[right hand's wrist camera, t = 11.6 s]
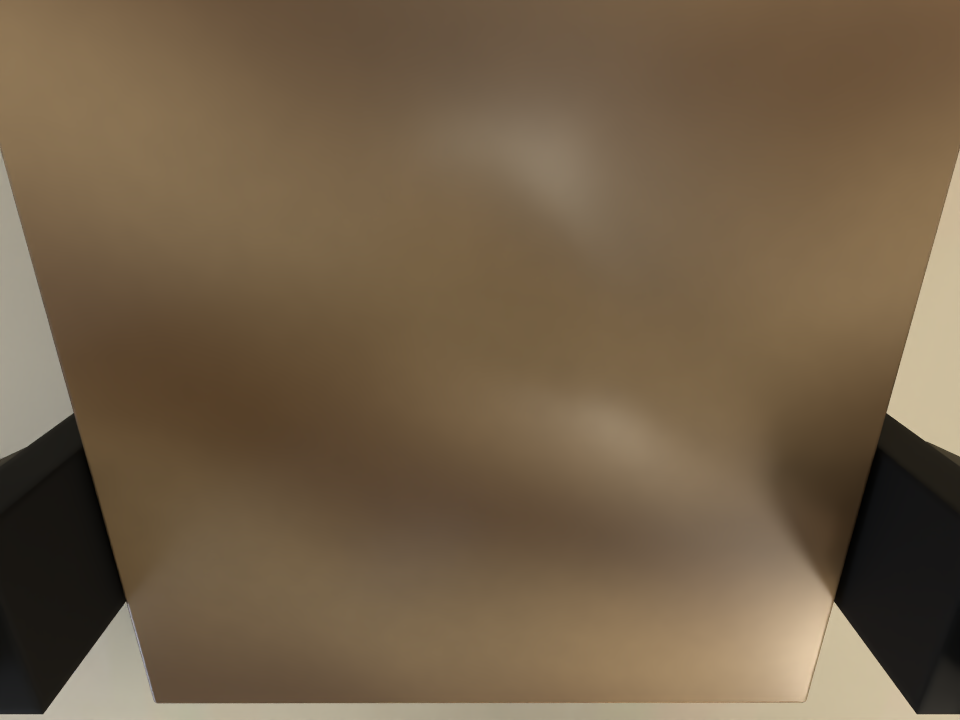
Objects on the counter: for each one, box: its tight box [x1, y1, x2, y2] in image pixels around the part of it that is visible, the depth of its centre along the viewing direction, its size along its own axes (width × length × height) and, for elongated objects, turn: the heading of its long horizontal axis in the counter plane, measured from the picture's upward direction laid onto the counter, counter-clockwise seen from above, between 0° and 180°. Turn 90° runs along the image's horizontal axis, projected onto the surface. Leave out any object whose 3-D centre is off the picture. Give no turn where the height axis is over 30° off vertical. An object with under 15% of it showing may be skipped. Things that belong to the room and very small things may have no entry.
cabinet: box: [0, 0, 960, 703], centre depth 10 cm, size 20×11×10 cm, turn 0°
